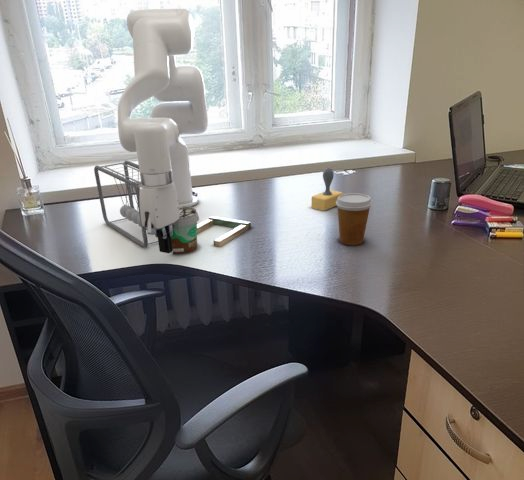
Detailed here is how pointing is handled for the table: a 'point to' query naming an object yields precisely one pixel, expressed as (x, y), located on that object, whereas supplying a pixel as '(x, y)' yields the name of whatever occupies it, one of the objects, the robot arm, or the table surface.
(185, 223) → the food container
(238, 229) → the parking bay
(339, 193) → the rubber stamp
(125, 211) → the newton's cradle
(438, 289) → the table surface
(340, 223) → the disposable coffee cup
